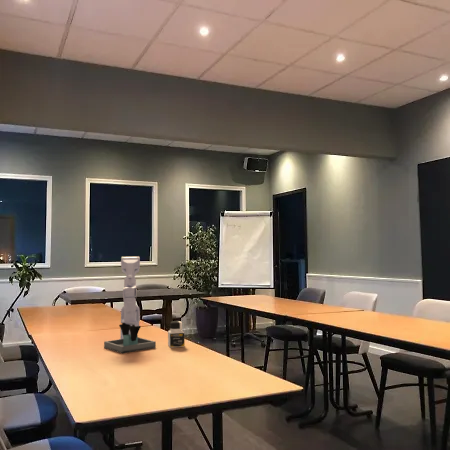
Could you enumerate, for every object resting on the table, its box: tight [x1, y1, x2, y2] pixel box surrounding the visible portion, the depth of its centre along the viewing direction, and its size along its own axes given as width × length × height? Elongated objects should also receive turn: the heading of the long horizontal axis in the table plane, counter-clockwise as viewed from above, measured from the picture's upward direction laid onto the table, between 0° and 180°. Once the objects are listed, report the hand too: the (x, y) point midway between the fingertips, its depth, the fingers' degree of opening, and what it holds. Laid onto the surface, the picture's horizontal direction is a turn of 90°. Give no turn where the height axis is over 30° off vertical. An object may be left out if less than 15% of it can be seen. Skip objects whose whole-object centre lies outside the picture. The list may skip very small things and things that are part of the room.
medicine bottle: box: [167, 320, 186, 349], centre depth 228 cm, size 7×7×12 cm
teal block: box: [123, 334, 139, 346], centre depth 224 cm, size 5×5×5 cm
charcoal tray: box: [103, 336, 157, 354], centre depth 224 cm, size 18×18×3 cm
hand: (129, 339), depth 224 cm, fingers open, 7 cm apart
